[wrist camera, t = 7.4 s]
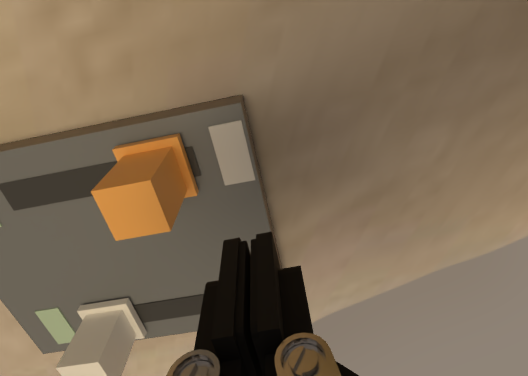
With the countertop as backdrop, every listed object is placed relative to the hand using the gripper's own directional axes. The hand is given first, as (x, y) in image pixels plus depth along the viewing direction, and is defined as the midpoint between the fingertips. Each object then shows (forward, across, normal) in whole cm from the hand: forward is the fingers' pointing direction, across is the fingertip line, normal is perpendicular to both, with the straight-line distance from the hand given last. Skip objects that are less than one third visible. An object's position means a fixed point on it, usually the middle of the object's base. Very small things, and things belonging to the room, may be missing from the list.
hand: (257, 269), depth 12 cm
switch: (+11, +14, +12) cm, 21 cm away
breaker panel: (+13, +11, +6) cm, 18 cm away
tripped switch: (+10, +6, 0) cm, 12 cm away
